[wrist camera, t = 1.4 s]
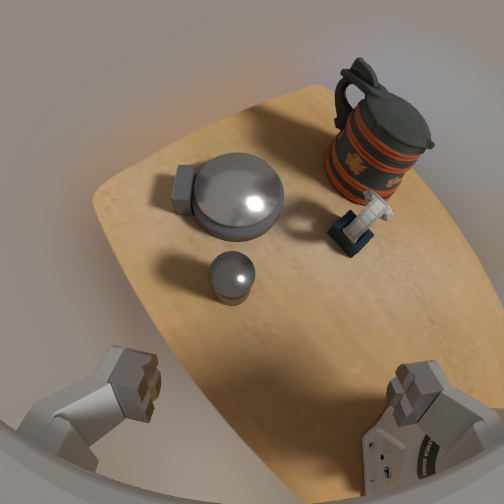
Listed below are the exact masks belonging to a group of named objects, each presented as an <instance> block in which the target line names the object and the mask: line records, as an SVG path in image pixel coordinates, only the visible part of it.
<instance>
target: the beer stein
mask: <svg viewBox="0 0 504 504" xmlns="http://www.w3.org/2000/svg"><path fill="white" fill-rule="evenodd" d="M340 74H341V75H342V76H343V78H342V79H341V80H340V81H339V83H338V84H337V87H336V90H335V107H336V113H337V118H335V119H334V123H335V126H336V128H338V129H340V130H341V131H340V132H339V133H338V134H337V136H336V138H335V139H334V140H333V142H332V144H331V146H330V148H329V150H328V151H327V154H326V159H325V165H326V170H327V173H328V175H329V177H330V179H331V181H332V183H333V184H334V185H335V187H336V188H337V189H338V190H339V191H340V192H341V193H342V194H343V195H344V196H346V197H347V198H349V199H350V200H352V201H354V202H356V203H359V204H363V205H367V204H366V200H365V196H366V195H364V194H363V193H364V192H365V191H366V190H367V191H368V192H369V191H370V190H372V191H374V192H375V193H377V194H378V195H379V196H380V197H381V198H382V199H383V200H385V202H386V201H387V200H388V199H389V198H390V197H391V195H392V194H393V193H394V192H395V190H396V189H397V188H398V186H399V185H400V184H401V181H402V178H403V176H404V175H405V174H406V172H407V171H409V170H410V169H411V168H412V167H413V165H414V164H415V162H416V161H417V159H418V157H419V156H420V154H423V153H424V152H425V150H426V148H428V149H432V148H433V147H434V146H435V144H434V142H432V141H431V134H430V130H429V127H428V125H427V123H426V121H425V119H424V118H423V117H422V115H421V114H420V113H419V112H418V110H417V109H416V108H415V107H413V106H412V105H411V104H410V103H408V102H406V101H405V100H404V99H402V98H400V97H398V96H396V95H394V94H392V93H389V92H388V91H387V89H386V88H385V87H384V86H382V85H381V84H380V83H378V79H377V77H376V74H375V72H374V71H373V69H372V68H371V66H370V65H368V64H367V63H366V62H365V61H364V60H363V58H357V59H356V60H355V61H354V63H353V65H352V67H351V68H350V69H342V71H341V73H340ZM350 84H354V85H356V86H357V87H358V88H359V89H360V90H361V91H362V92H363V93H364V94H365V99H363V100H361V101H360V102H359V103H358V105H357V106H356V107H355V109H353V108H352V107H351V106H350V104H349V103H348V101H347V99H346V94H345V92H346V88H347V87H348V85H350Z"/></svg>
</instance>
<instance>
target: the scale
mask: <svg viewBox="0 0 504 504" xmlns="http://www.w3.org/2000/svg"><path fill="white" fill-rule="evenodd" d="M198 173H199V172H198ZM198 173H197V175H198ZM276 174H277V173H276ZM197 175H196V173H195V168H194V165H178V168H177V171H176V176H175V181H174V186H173V191H172V197H171V198H172V201H173V204H174V206H175V209H176V212H177V214H178V215H193V210H194V214H195V217H196V219H197V221H198V222H199V224H200V225H201V226H202V228H204V229H205V230H206V231H207V232H208V233H210V234H211V235H213V236H215V237H216V238H219V239H222V240H225V241H231V242H243V241H249V240H252V239H255V238H257V237H259V236H261V235H263V234H264V233H266V232H267V231H268V230H269V229H270V228H271V227H272V226H273V225H274V223H275V222H276V220H277V218H278V216H279V213H280V210H281V207H282V205H283V200H284V190H283V185H282V182H281V180H280V178H279V176H278V175H277V176H278V178H279V181H280V185H281V194H280V199H279V202H278V204H277V207H276V208H275V210H274V211H273V213H272V214H271V215H270V216H269V217H268V218H266V219H265V220H264V221H262V222H260V223H258V224H256V225H253V226H250V227H244V228H231V227H226V226H222V225H220V224H217V223H215V222H213V221H212V220H210V219H209V218H208V217H206V216H205V215H204V214H203V212H202V211H201V210H200V208H199V207H198V204H197V202H196V198H195V194H194V184H195V180H196V177H197Z"/></svg>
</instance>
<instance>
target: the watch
mask: <svg viewBox="0 0 504 504" xmlns="http://www.w3.org/2000/svg"><path fill="white" fill-rule="evenodd" d="M363 194H364V195H366V196H365V200H366V204H367V206H366V207H365V208H364V209H363V210H362V211H361V213H360V214H359V215H358V216H356V215H355V214H354V213H353V212H352V210H351V209H350V210H349V211H348V212H347V213H346V214H345V215H344V216H343V217H342V218H341V219H340V220H339V221H337V222H336V223H335V224H334V225H333V226H332V228H331V229H330V230H329V231H328V232H327V233H328V234H329V235H330V236H331V237H332V238H333V240H334V241H335V242H336V243H337V244H338V245H339V246H340V247H341V248H342V249H343V250H344V252H345V253H346V254H347V255H348V256H349V257H350V258H351V257H353V256H354V255H355V254H357V253H358V252H359V251H360V250H361V249H362V248H363V247H364V246H365V245H366V244H367V243H368V242H369V240H370V239H371V238H372V237H373V236H374V234H373V233H372V232H371V231H370V230H369V229H368V228H369V227H371V226H372V225H373V224H374V223H375V222H376V221H377V220H378V219H379V218H380V219H383V220H385V221H387V220H389V219H390V218H391V217H392V216H393V215H394V214H393V211H392V210H391V208H390V207H389V205H388V204H387V203H386V202H385V200H383V199H382V198H381V197H380V196H379V195H378V194H377V193H375V192H374V191H372V190H370V191H369V192H368V191H367V190H366V191H365V192H364V193H363Z"/></svg>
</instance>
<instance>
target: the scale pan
mask: <svg viewBox="0 0 504 504" xmlns="http://www.w3.org/2000/svg"><path fill="white" fill-rule="evenodd" d="M194 194H195V198H196V202H197V204H198V207H199V208H200V210H201V211H202V212H203V214H204V215H205V216H206V217H208V218H209V219H210V220H212V221H213V222H215V223H217V224H220V225H222V226H226V227H231V228H244V227H250V226H253V225H256V224H258V223H260V222H262V221H264V220H265V219H266V218H268V217H269V216H270V215H271V214H272V213H273V211H274V210H275V208H276V207H277V204H278V202H279V199H280V194H281V185H280V181H279V178H278V176H277V174H276V172H275V171H274V169H273V168H272V167H271V166H270V165H269V164H268V163H267V162H265V161H264V160H262V159H261V158H258V157H256V156H254V155H251V154H246V153H228V154H224V155H220V156H218V157H216V158H214V159H212V160H210V161H209V162H208V163H206V164H205V165H204V166H203V167H202V169H201V170H200V171H199V173H198V175H197V177H196V180H195V184H194Z"/></svg>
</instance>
